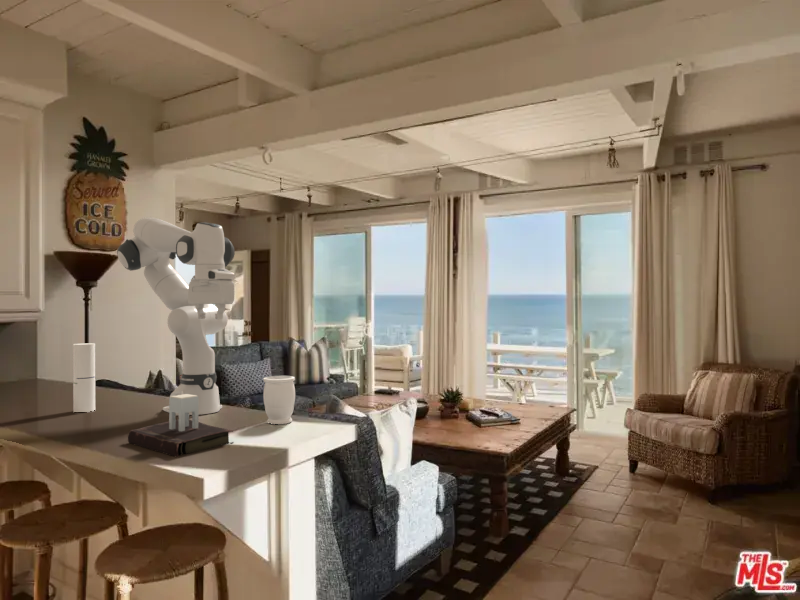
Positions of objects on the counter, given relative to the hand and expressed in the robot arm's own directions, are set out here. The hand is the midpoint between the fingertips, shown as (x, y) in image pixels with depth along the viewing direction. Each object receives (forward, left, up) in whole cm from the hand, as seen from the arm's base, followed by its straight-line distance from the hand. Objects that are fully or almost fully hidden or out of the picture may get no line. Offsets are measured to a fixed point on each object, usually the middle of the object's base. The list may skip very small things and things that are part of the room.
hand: (210, 319), depth 175 cm
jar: (+6, +22, -35) cm, 42 cm away
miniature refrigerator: (-68, -9, -35) cm, 77 cm away
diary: (+5, -13, -36) cm, 39 cm away
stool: (+6, -12, -31) cm, 34 cm away
